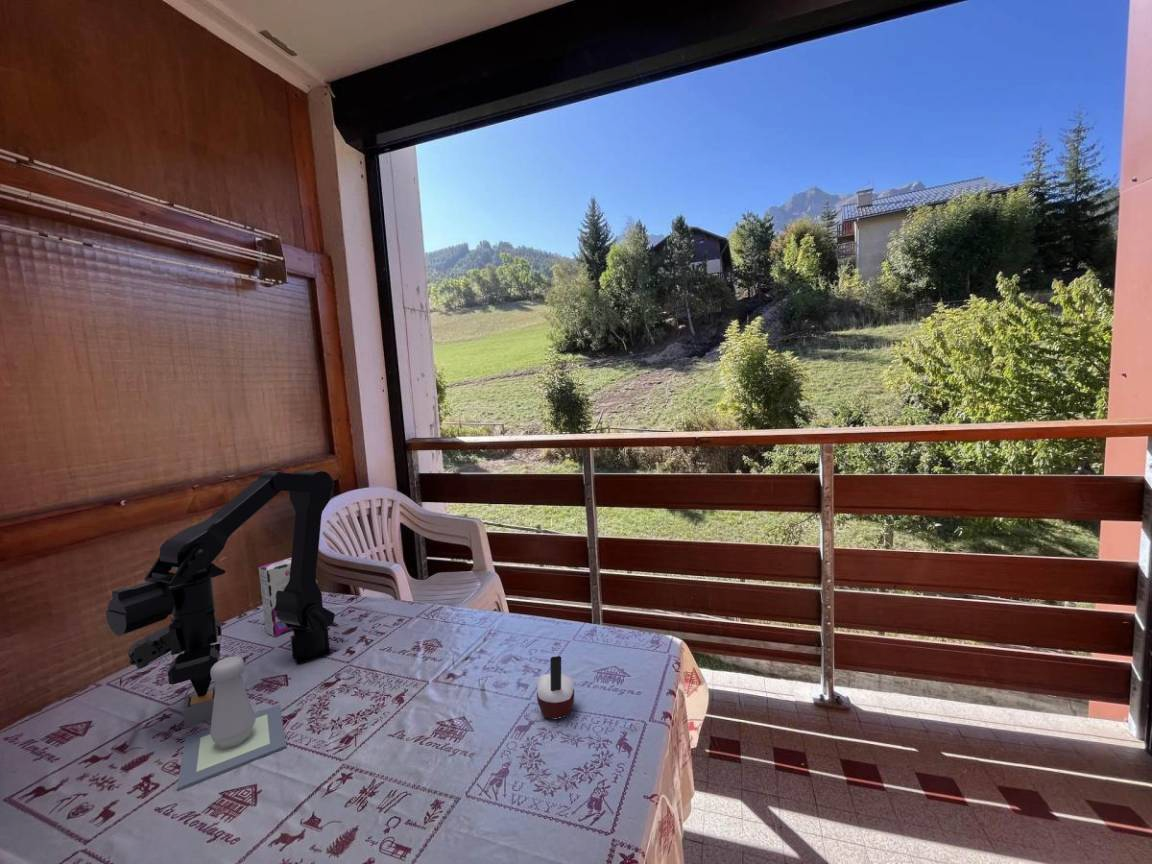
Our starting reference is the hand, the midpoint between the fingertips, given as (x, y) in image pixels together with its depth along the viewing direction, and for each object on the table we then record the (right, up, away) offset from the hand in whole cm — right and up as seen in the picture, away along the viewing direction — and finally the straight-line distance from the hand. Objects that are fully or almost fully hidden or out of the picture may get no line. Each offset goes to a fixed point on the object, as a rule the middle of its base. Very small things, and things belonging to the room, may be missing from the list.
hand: (202, 695), depth 82 cm
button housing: (0, -4, 0) cm, 4 cm away
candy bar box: (-4, -2, +34) cm, 34 cm away
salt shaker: (+11, -3, -7) cm, 14 cm away
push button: (0, -3, 0) cm, 3 cm away
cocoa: (+62, -1, -4) cm, 62 cm away
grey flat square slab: (+11, -4, -8) cm, 14 cm away
